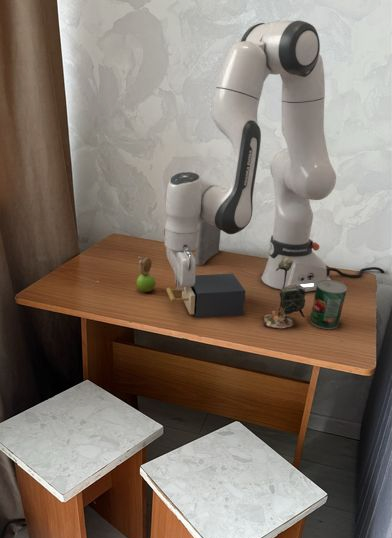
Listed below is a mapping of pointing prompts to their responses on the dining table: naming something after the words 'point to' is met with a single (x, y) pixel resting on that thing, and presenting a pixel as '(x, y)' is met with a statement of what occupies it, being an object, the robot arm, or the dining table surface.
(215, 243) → the hip flask
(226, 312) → the cabinet
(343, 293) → the canned tomato
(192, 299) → the drawer
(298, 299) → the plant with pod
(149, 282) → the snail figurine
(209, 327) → the dining table surface
